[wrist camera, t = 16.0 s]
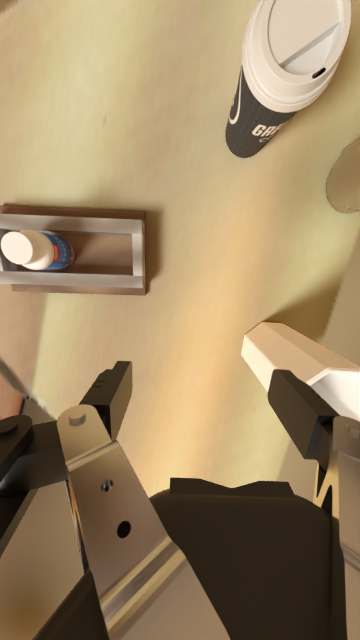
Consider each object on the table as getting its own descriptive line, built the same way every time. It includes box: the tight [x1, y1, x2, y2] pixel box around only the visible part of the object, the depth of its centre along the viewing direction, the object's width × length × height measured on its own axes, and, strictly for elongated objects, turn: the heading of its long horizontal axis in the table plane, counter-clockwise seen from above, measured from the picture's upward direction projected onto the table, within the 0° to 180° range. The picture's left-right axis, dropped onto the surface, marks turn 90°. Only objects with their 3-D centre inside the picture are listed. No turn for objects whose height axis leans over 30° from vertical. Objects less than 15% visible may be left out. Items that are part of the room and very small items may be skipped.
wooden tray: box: [0, 206, 146, 295], centre depth 34 cm, size 14×24×4 cm, turn 88°
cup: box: [241, 322, 360, 422], centre depth 33 cm, size 11×11×18 cm
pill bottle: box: [1, 230, 74, 270], centre depth 30 cm, size 6×5×10 cm
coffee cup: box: [226, 0, 351, 158], centre depth 24 cm, size 10×10×15 cm
